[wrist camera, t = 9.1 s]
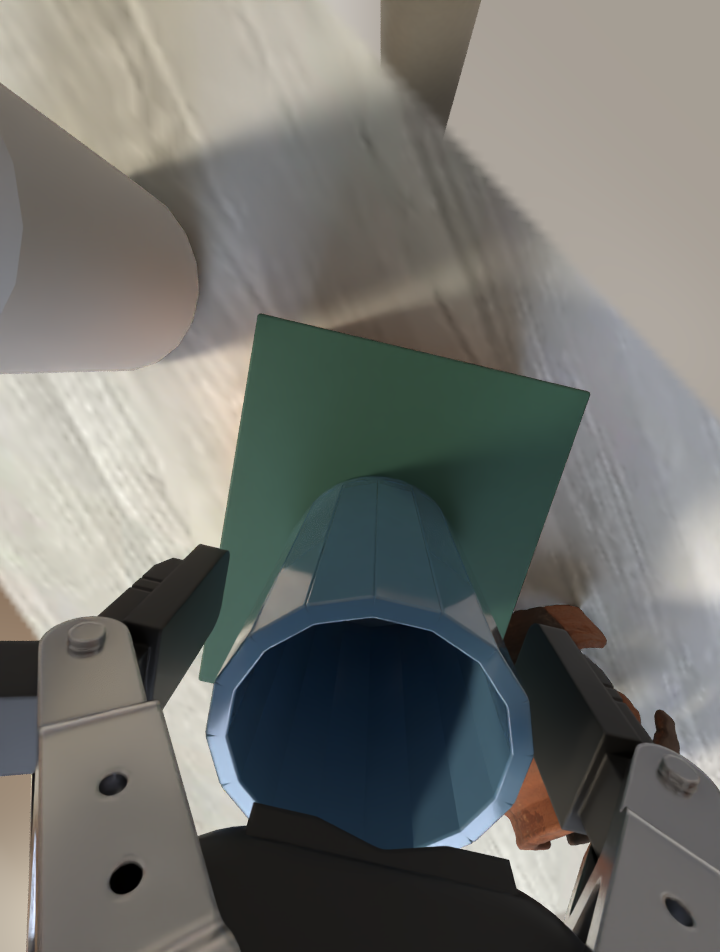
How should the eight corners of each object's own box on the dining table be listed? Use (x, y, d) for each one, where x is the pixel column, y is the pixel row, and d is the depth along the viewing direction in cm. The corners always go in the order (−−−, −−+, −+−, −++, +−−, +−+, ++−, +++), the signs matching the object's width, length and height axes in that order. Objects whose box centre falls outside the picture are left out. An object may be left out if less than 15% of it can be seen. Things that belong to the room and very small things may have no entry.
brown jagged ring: (637, 588, 22) (776, 781, 16) (554, 675, 28) (633, 838, 22) (407, 602, 20) (472, 839, 14) (371, 694, 26) (404, 885, 20)
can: (243, 283, 19) (30, 159, 8) (135, 405, 21) (-180, 459, 9) (106, 140, 18) (-388, -262, 6) (3, 280, 20) (-549, 160, 8)
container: (294, 327, 20) (257, 312, 14) (529, 383, 20) (592, 392, 14) (244, 600, 23) (197, 681, 17) (445, 646, 23) (467, 742, 17)
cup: (311, 458, 15) (233, 563, 7) (476, 497, 15) (581, 644, 7) (280, 606, 16) (187, 830, 8) (431, 641, 16) (477, 896, 8)
